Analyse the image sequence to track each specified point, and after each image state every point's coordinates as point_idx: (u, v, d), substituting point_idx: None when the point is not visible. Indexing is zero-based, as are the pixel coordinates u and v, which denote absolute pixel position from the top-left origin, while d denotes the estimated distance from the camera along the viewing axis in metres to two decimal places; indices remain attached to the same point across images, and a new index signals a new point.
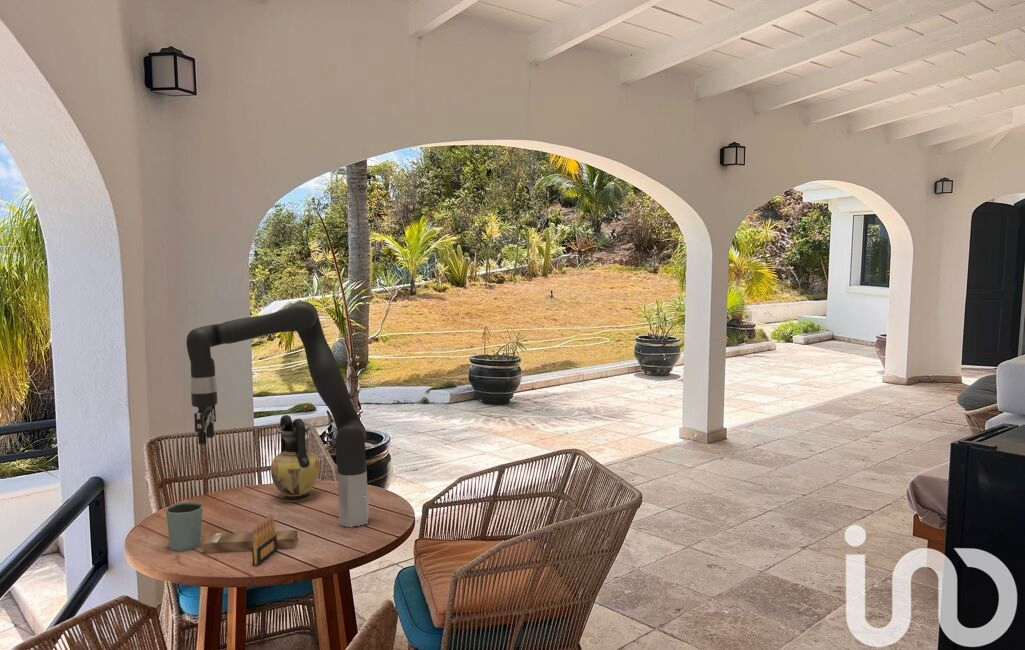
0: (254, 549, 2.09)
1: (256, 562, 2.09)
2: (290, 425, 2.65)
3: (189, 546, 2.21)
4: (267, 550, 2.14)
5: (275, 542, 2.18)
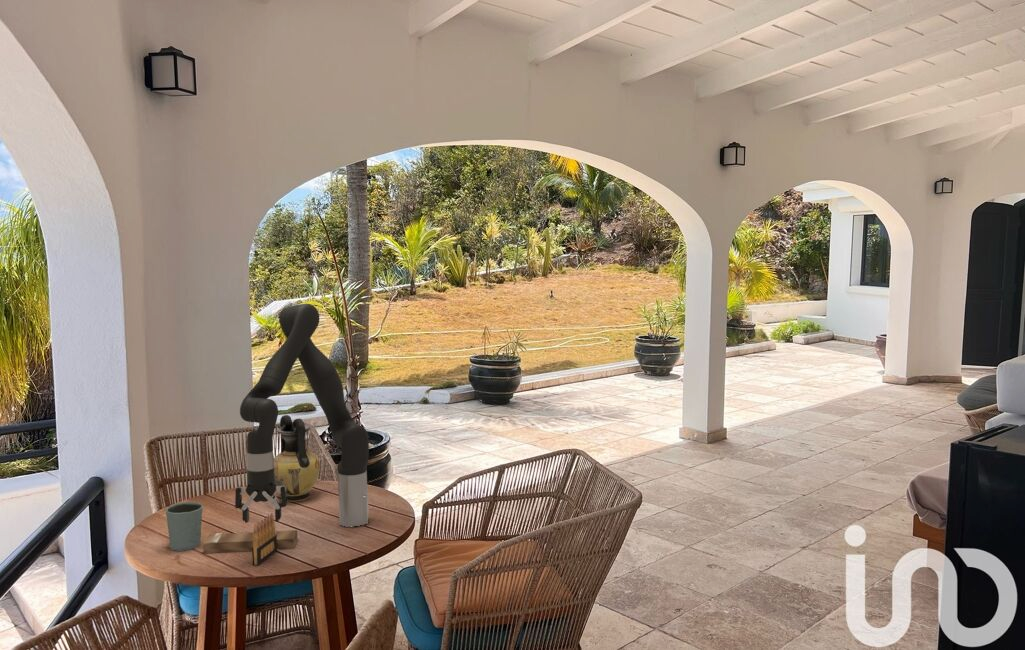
0: (254, 549, 2.09)
1: (256, 562, 2.09)
2: (290, 425, 2.65)
3: (189, 546, 2.21)
4: (267, 550, 2.14)
5: (275, 542, 2.18)
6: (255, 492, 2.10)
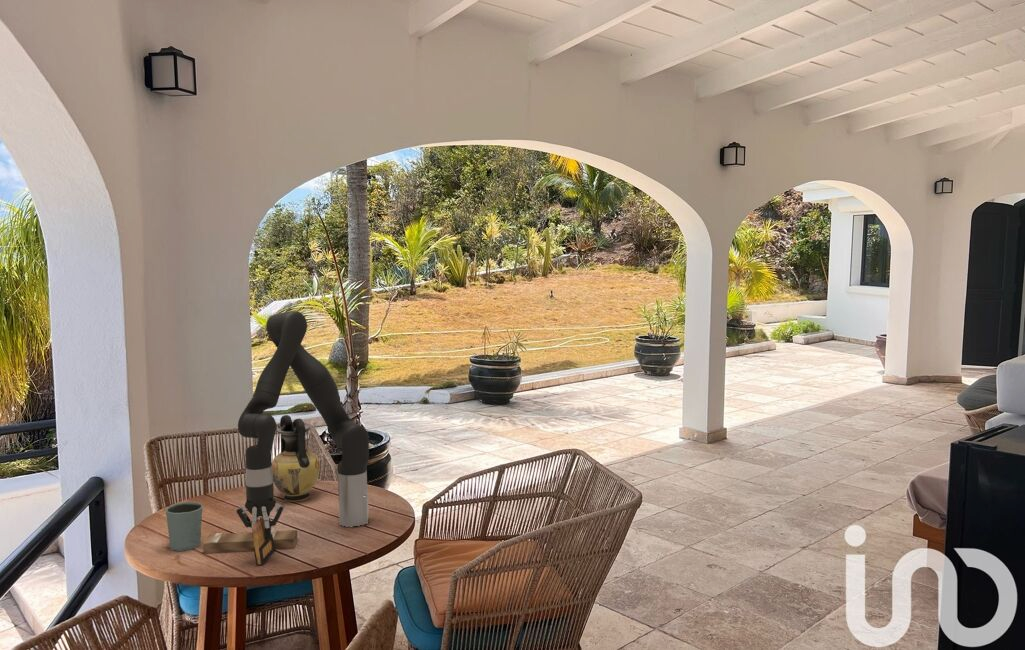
0: (256, 549, 2.09)
1: (260, 562, 2.09)
2: (290, 425, 2.65)
3: (189, 546, 2.21)
4: (267, 549, 2.14)
5: (272, 541, 2.18)
6: (254, 507, 2.11)
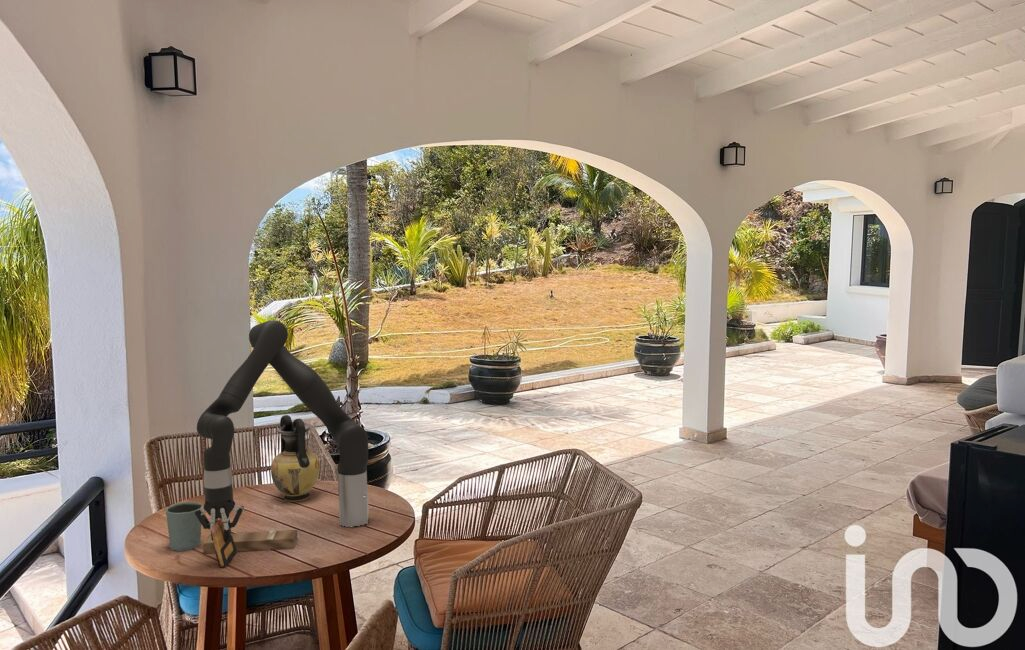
0: (217, 551, 2.08)
1: (222, 563, 2.08)
2: (290, 425, 2.65)
3: (189, 546, 2.21)
4: (228, 551, 2.13)
5: (233, 542, 2.17)
6: (212, 509, 2.09)
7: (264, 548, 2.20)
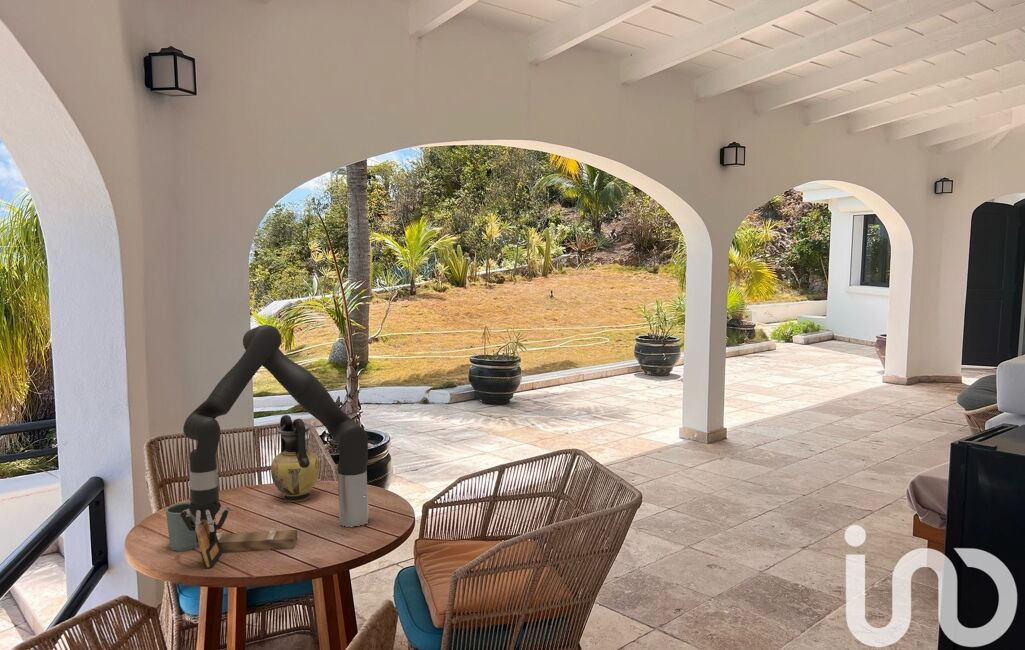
0: (203, 552, 2.07)
1: (208, 564, 2.08)
2: (290, 425, 2.65)
3: (189, 546, 2.21)
4: (214, 552, 2.13)
5: (218, 543, 2.17)
6: (198, 511, 2.09)
7: (264, 548, 2.20)
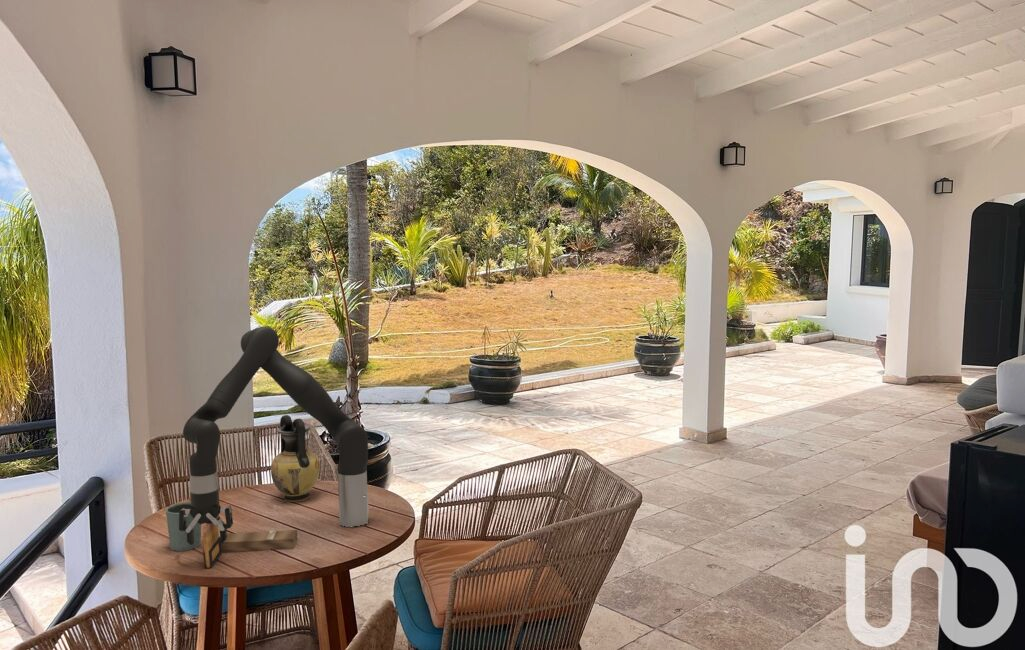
0: (205, 552, 2.07)
1: (209, 564, 2.08)
2: (290, 425, 2.65)
3: (189, 546, 2.21)
4: (215, 552, 2.13)
5: (219, 544, 2.17)
6: (199, 514, 2.09)
7: (264, 548, 2.20)
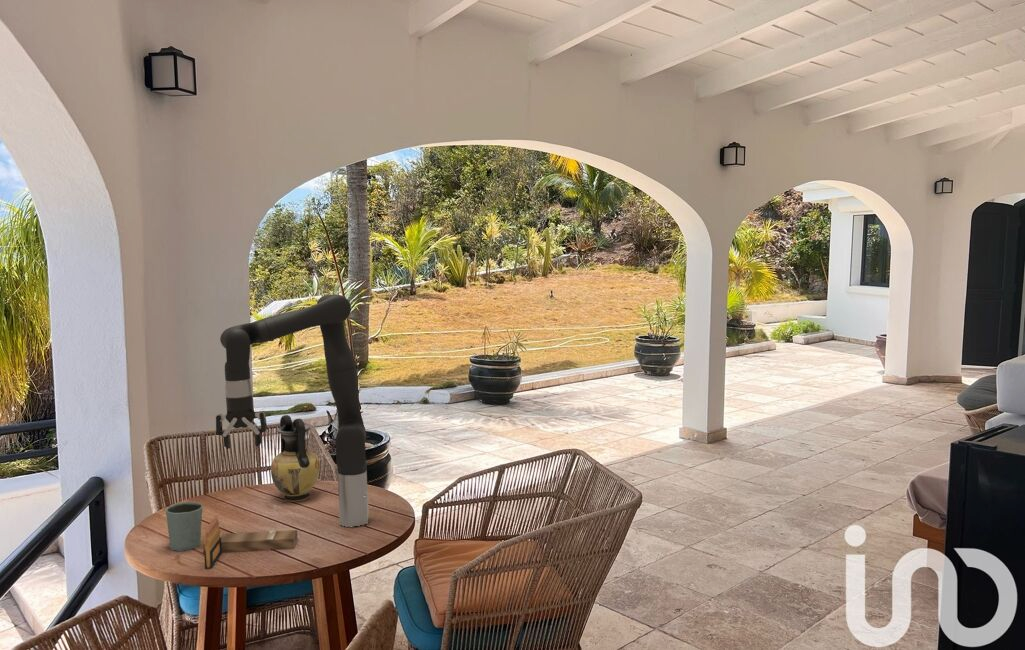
0: (207, 552, 2.07)
1: (209, 565, 2.08)
2: (290, 425, 2.65)
3: (189, 546, 2.21)
4: (215, 552, 2.13)
5: (220, 544, 2.17)
6: (235, 418, 2.19)
7: (264, 548, 2.20)
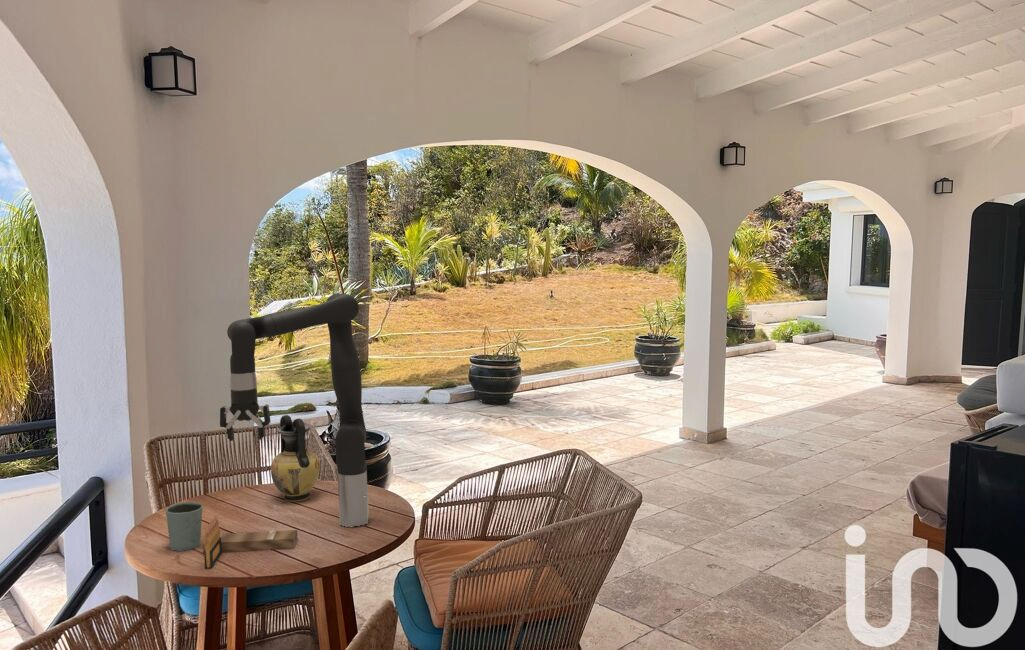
0: (207, 552, 2.07)
1: (209, 565, 2.08)
2: (290, 425, 2.65)
3: (189, 546, 2.21)
4: (215, 552, 2.13)
5: (220, 544, 2.17)
6: (239, 411, 2.20)
7: (264, 548, 2.20)
